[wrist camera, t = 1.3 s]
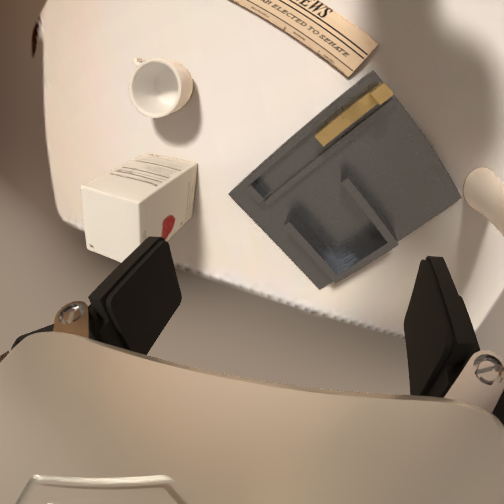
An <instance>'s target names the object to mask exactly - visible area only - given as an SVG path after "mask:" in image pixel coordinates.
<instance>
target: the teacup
mask: <svg viewBox="0 0 504 504" xmlns="http://www.w3.org/2000/svg"><path fill="white" fill-rule="evenodd" d="M138 61H139V62H141V63H139V62H138ZM133 64H134V65H135V67H136V69H135V70H134V72H133V74H132V76H131V78H130V82H129V95H130V99H131V101H132V104H133V105H134V107H135V108H136V109H137V110H138V111H139V112H140V113H141V114H143V115H144V116H147V117H150V118H160V117H164V116H167V115H169V114H171V113H174V112H176V111H177V110H179V109H180V108H181V107H183V106H184V105H185V104H186V103H187V101H188V100H189V98H190V96H191V94H192V90H193V81H192V77H191V74H190V72H189V71H188V70H187V69H186V68H185V67H184V66H183V65H182V64H180V63H179V62H176V61H173V60H167V59H151V60H147V61H146V60H144V59H142V58H140V57H136V58H135V59H134V60H133Z"/></svg>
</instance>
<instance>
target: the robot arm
mask: <svg viewBox="0 0 504 504" xmlns="http://www.w3.org/2000/svg"><path fill="white" fill-rule="evenodd" d="M88 298H89V300H90V302H91V305H89V307H88V305H87V304H86V303H85V302H83V301H74V302H71V303H68V304H66V305H65V306H63V307H62V308H61V309H60V310H59V311H58V312H57V314H56V316H55V320H54V324H52V325H50V326H47V327H44V328H41V329H39V330H36V331H33V332H31V333H28V334H25V335H22V336H20V337H18V338H17V339H16V341H15V343H14V344H13V346H12V349H11V351H10V352H9V351H7V352H6V353H4V354H2V355H1V356H0V504H504V361H503V359H502V358H501V357H500V356H499V355H497V354H496V353H494V352H492V351H487V350H483V351H480V348H479V345H478V342H477V338H476V335H475V332H474V329H473V326H472V323H471V320H470V317H469V315H468V312H467V309H466V306H465V304H464V301H463V299H462V297H461V296H459V295H458V293H457V290H456V287H455V285H454V282H453V280H452V278H451V275H450V273H449V270H448V268H447V266H446V263H445V261H444V259H443V257H433V256H427V257H426V260H421V262H420V266H419V270H418V274H417V278H416V282H415V285H414V289H413V293H412V296H411V300H410V303H409V306H408V310H407V313H406V316H405V320H404V332H405V339H406V348H407V357H408V367H409V379H410V394H411V395H397V394H379V393H365V392H353V391H340V390H330V389H320V388H311V387H302V386H295V385H288V384H281V383H275V382H268V381H261V380H256V379H249V378H244V377H238V376H233V375H228V374H223V373H218V372H213V371H209V370H204V369H200V368H195V367H191V366H186V365H182V364H178V363H174V362H170V361H166V360H162V359H158V358H155V357H151V356H147V353H148V352H149V350H150V349H151V347H152V346H153V344H154V342H155V341H156V339H157V338H158V336H159V335H160V333H161V332H162V330H163V329H164V327H165V326H166V324H167V323H168V321H169V320H170V318H171V317H172V315H173V314H174V312H175V311H176V309H177V308H178V306H179V305H180V303H181V299H182V296H181V291H180V288H179V284H178V280H177V276H176V272H175V268H174V264H173V260H172V256H171V252H170V247H169V244H168V242H167V241H165V239H164V238H163V237H153V236H149V237H148V238H147V239H145V240H144V241H143V242H142V243H141V244H140V245H139V246H138V247H137V248H136V249H135V250H134V251H133V252H132V253H131V254H130V255H129V256H128V257H127V258H126V259H125V260H124V261H123V262H122V263H121V264H120V265H119V266H118V267H117V268H116V269H115V270H114V271H113V272H112V273H111V274H110V275H109V276H108V277H107V278H106V279H105V280H104V281H103V282H102V283H101V284H100V285H99V286H98V287H97V288H96V289H95V291H93V292H92V293H91V295H90V296H89V297H88Z"/></svg>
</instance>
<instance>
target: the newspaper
mask: <svg viewBox="0 0 504 504" xmlns="http://www.w3.org/2000/svg"><path fill="white" fill-rule="evenodd" d="M232 1H234V2H236V3H237V4H239V5H241V6H243V7H245V8H247V9H249V10H250V11H252V12H254V13H256V14H257V15H259V16H261V17H262V18H264V19H266V20H268V21H269V22H271V23H272V24H274V25H276V26H277V27H279V28H280V29H282V30H284V31H285V32H287V33H288V34H290V35H291V36H293V37H294V38H296V39H297V40H299V41H300V42H302V43H303V44H304V45H306V46H307V47H309V48H310V49H312V50H313V51H314V52H316V53H317V54H318V55H320V56H321V57H322V58H324V59H325V60H326V61H328V62H329V63H330V64H332V65H333V66H334V67H336V68H337V69H338V70H339V71H341V72H342V73H343V74H344V75H346V76H347V77H349V76H350V75H351V74H352V73H353V72H354V70H355V69H356V68H357V67H358V66H359V65H360V64H361V63H362V62H363V61H364V60H365V58H366V57H367V56H368V55H369V54H370V53H371V52H372V51H373V50H374V49H375V48H376V46H377V45H378V43H377V42H375V41H374V40H373V39H372V38H371V37H369V36H368V35H367V34H365V33H364V32H363V31H362V30H360V29H359V28H358V27H356V26H355V25H354V24H352V23H351V22H350V21H348V20H347V19H346V18H344V17H343V16H341V15H340V14H338V13H337V12H336V11H334V10H333V9H331V8H330V7H328V6H327V5H325V4H324V3H322V2H321V1H319V0H232Z"/></svg>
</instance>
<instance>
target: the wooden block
mask: <svg viewBox="0 0 504 504" xmlns="http://www.w3.org/2000/svg"><path fill="white" fill-rule="evenodd" d="M393 95H394V93H393V92H392V91H391V89H390V88H389V87H388V86H387V84H386V83H378V84H376V85H375V86H374V87H372V88H371V89H370V90H369V91H367V92H366V93H365V94H363V95H362V96H361V97H360V98H358V99H357V100H356V101H355V102H353V103H352V104H351V105H350V106H348V107H347V108H346V109H345V110H343V111H342V112H341V113H340V114H338V115H337V116H336V117H335V118H333V119H332V120H331V121H330V122H329V123H327V124H326V125H325V126H324V127H322V128H321V129H320V130H319V131H318V132H316V134H315V136H314V137H315V138H316V139H317V140H318V141H319V142H320V143H321V145H322V146H323V147H324V146H325V145H326V144H327V143H329V142H330V141H331V140H332V139H334V138H335V137H336V136H337V135H339V134H340V133H341V132H342V131H344V130H345V129H346V128H347V127H349V126H350V125H351V124H352V123H354V122H355V121H356V120H358V119H359V118H360V117H361V116H363V115H364V114H365V113H366V112H368V111H369V110H370V109H372V108H373V107H374V106H375V105H377V104H379V105H381V104H382V103H383V102H385V101H386V100H387V99H389V98H390V97H391V96H393Z"/></svg>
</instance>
